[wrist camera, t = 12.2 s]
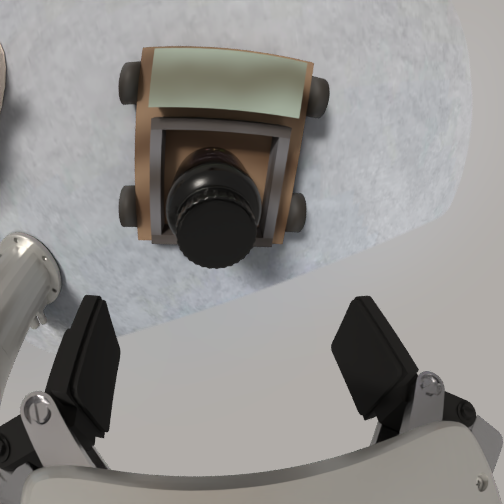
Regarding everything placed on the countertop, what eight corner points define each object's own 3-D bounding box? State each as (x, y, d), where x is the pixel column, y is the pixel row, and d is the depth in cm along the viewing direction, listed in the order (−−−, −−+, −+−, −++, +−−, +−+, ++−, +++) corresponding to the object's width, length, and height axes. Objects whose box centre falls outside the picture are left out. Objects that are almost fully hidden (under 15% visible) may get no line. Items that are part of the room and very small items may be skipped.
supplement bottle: (242, 212, 28) (265, 284, 18) (175, 210, 27) (160, 284, 17) (249, 146, 25) (282, 182, 14) (177, 143, 23) (154, 177, 13)
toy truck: (288, 231, 34) (306, 263, 28) (131, 226, 30) (115, 259, 24) (316, 69, 24) (348, 63, 18) (135, 54, 20) (113, 41, 14)
